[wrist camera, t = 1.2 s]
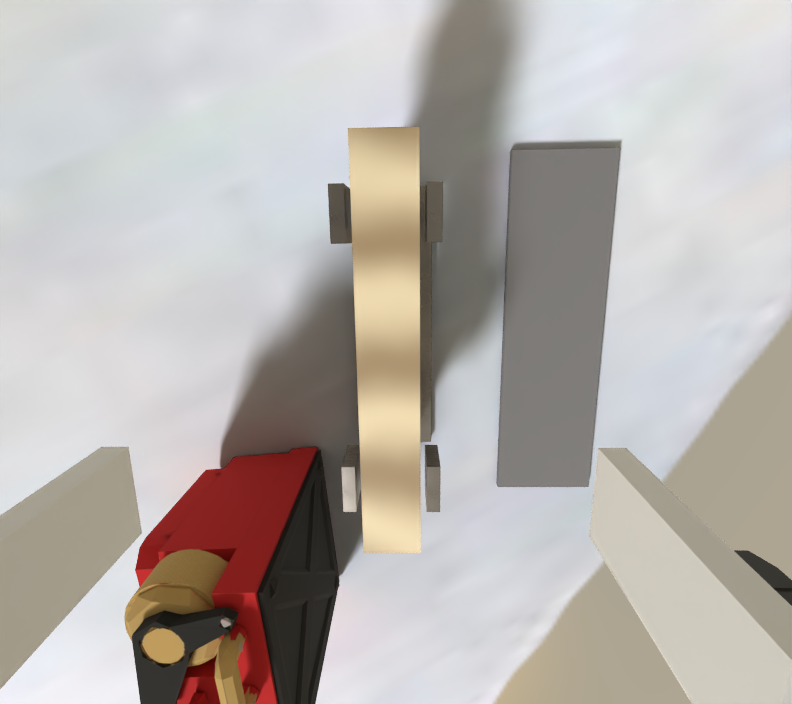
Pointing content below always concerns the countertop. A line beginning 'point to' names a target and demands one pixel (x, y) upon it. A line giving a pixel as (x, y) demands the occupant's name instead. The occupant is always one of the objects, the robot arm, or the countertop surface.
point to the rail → (387, 332)
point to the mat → (554, 312)
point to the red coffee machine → (238, 587)
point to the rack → (428, 233)
